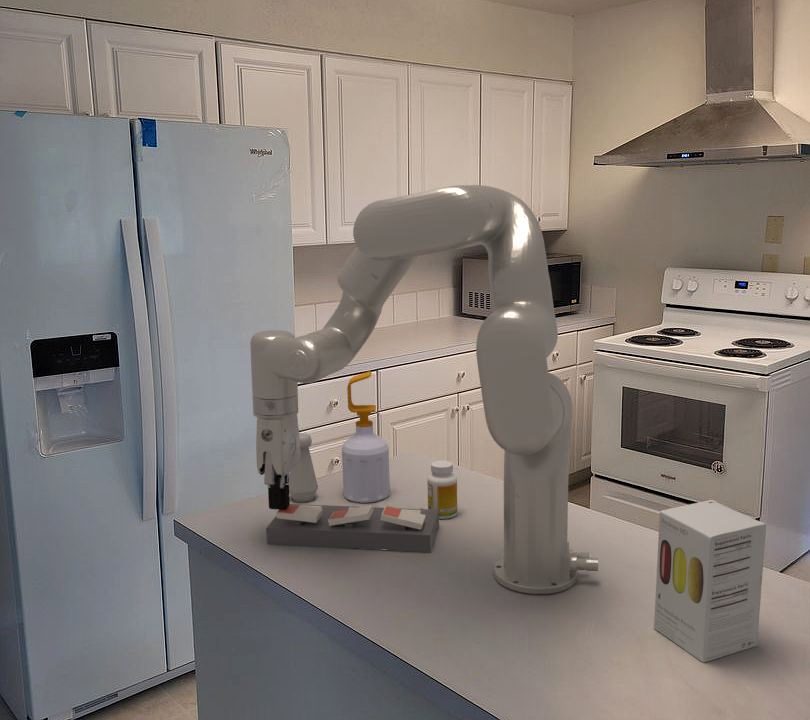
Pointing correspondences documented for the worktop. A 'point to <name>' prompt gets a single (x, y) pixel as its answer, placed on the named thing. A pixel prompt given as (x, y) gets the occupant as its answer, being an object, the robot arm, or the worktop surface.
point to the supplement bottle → (442, 489)
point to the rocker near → (403, 517)
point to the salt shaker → (303, 473)
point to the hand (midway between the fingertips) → (279, 507)
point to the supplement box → (709, 579)
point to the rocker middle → (350, 515)
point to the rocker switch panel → (355, 532)
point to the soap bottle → (364, 456)
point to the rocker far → (300, 513)
